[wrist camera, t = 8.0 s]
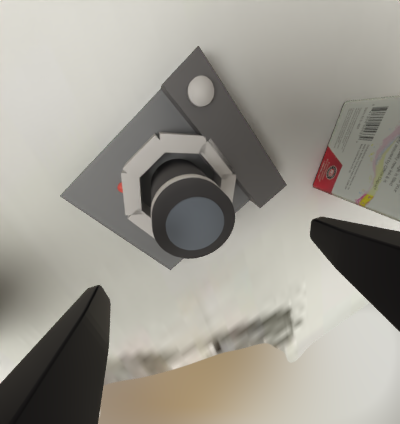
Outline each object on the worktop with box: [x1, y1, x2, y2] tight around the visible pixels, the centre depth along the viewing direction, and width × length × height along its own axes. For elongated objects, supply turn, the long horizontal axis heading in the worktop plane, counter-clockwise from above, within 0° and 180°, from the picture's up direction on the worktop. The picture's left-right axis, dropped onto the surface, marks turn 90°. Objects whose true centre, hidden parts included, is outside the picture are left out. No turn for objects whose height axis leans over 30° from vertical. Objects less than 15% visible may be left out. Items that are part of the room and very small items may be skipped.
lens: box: [151, 159, 235, 259], centre depth 13 cm, size 5×5×7 cm
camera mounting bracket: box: [60, 46, 286, 270], centre depth 16 cm, size 14×12×4 cm
